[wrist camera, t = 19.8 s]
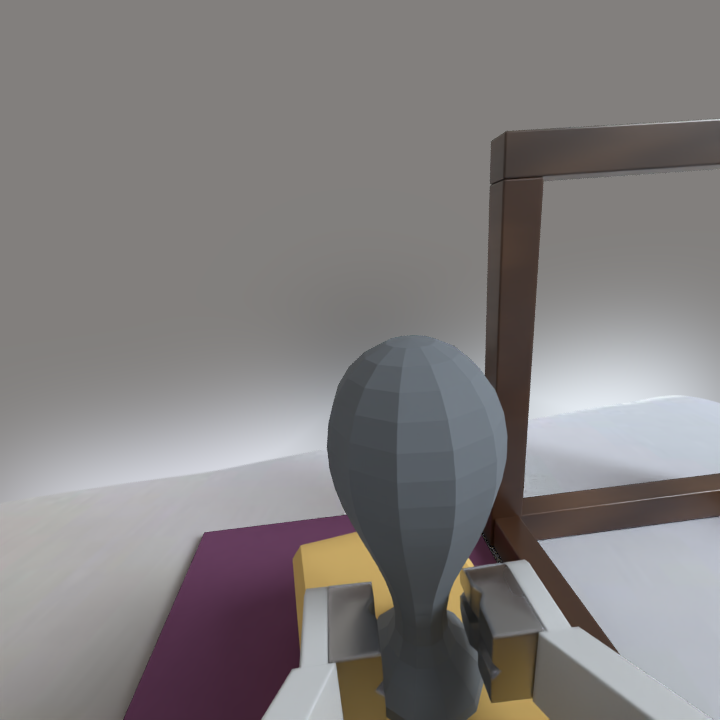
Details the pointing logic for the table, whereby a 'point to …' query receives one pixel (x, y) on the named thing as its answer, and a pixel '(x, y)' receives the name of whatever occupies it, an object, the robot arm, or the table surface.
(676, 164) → the stamp rack
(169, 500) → the table surface
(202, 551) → the felt pad
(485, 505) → the rubber stamp
